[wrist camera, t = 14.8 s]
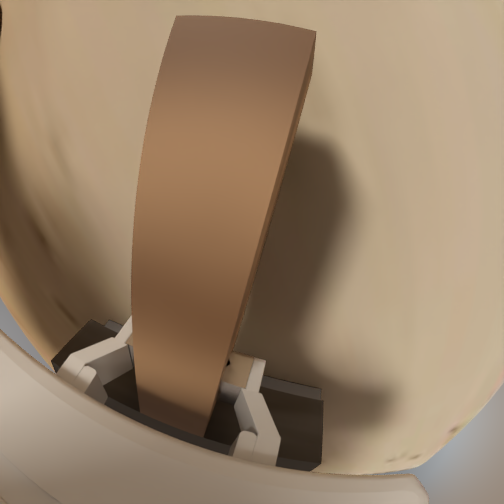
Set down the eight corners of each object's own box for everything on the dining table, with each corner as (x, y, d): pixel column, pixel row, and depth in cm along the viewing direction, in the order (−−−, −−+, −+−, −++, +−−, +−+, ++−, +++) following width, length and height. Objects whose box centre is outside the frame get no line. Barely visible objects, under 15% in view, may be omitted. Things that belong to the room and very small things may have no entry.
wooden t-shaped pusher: (105, 55, 8) (36, 41, 4) (453, 134, 7) (523, 142, 4) (93, 336, 15) (57, 377, 11) (312, 414, 14) (308, 472, 10)
